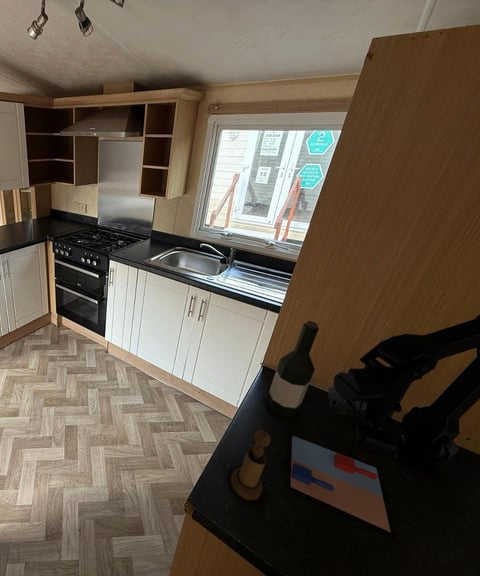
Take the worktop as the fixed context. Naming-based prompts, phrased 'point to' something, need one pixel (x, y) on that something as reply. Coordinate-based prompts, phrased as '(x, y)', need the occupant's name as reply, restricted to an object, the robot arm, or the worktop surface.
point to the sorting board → (340, 483)
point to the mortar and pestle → (251, 469)
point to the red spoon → (350, 466)
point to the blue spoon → (307, 477)
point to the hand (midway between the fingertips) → (356, 442)
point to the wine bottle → (293, 374)
